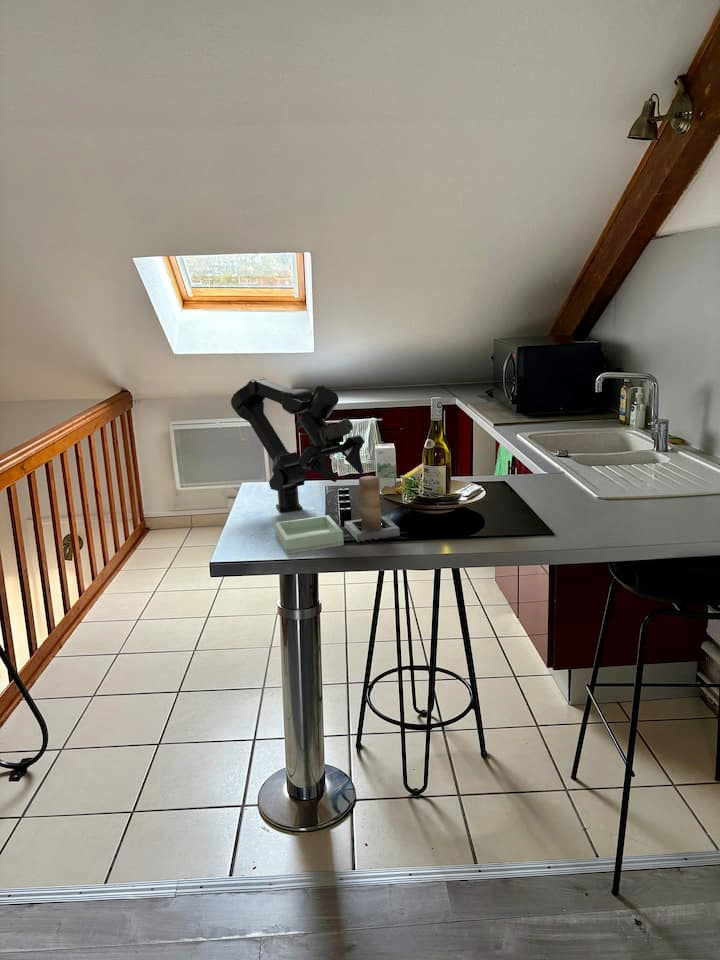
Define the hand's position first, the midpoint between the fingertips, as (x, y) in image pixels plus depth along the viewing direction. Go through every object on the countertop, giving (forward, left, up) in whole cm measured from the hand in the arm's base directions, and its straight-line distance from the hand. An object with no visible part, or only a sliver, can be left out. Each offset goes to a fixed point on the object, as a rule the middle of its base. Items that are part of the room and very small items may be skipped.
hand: (349, 477), depth 188 cm
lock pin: (+6, +3, -13) cm, 15 cm away
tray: (+5, -13, -13) cm, 19 cm away
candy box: (-18, +24, -14) cm, 33 cm away
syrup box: (-26, +18, -13) cm, 34 cm away
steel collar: (+6, +3, -13) cm, 15 cm away
